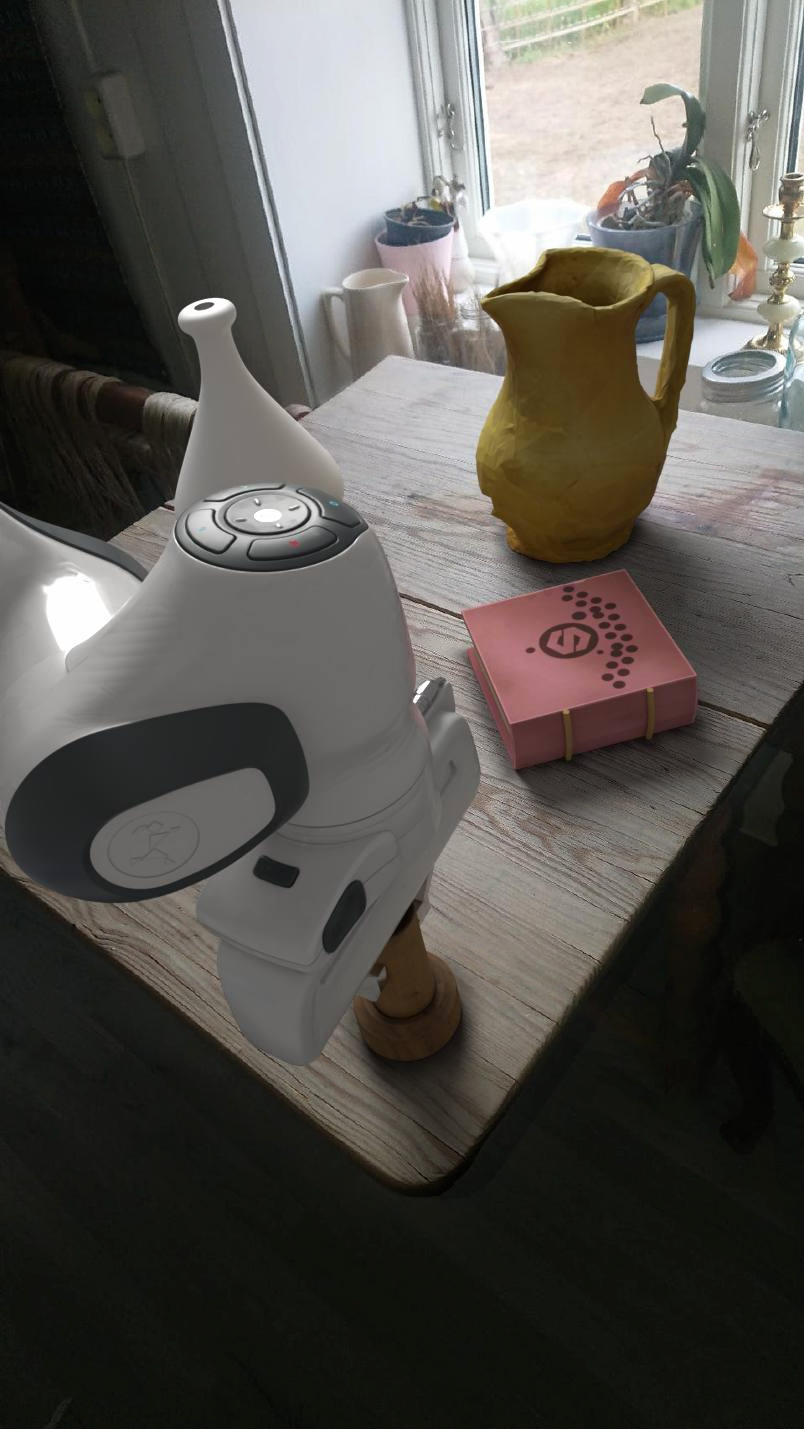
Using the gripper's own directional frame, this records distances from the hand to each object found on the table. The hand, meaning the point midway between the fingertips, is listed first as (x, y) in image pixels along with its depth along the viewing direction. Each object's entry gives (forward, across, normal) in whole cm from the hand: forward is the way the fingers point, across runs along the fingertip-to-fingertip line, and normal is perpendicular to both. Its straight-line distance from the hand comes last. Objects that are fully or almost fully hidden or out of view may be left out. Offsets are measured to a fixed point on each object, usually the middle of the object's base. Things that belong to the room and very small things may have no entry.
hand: (392, 951), depth 57 cm
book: (+7, -31, -1) cm, 32 cm away
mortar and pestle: (+7, 0, 0) cm, 7 cm away
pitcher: (+7, -53, -9) cm, 54 cm away
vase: (+7, -42, -39) cm, 58 cm away
